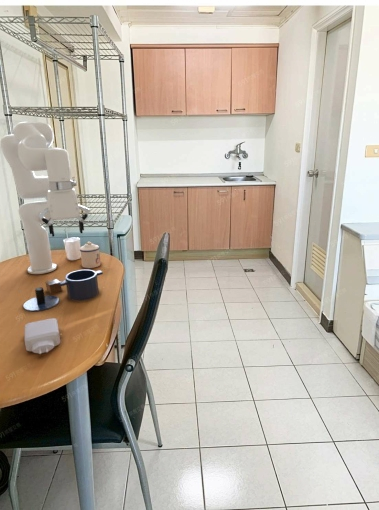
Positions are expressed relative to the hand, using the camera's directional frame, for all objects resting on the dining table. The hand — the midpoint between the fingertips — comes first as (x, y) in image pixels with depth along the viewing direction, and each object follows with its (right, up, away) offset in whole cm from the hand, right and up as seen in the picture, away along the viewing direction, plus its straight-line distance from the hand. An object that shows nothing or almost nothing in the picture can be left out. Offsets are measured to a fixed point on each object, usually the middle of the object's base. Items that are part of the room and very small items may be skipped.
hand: (67, 234), depth 125 cm
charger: (+1, -35, -23) cm, 41 cm away
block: (-10, -22, +13) cm, 28 cm away
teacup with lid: (-3, -12, +43) cm, 45 cm away
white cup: (-15, -9, +52) cm, 55 cm away
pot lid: (-10, -25, +2) cm, 27 cm away
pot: (+3, -23, +10) cm, 25 cm away
